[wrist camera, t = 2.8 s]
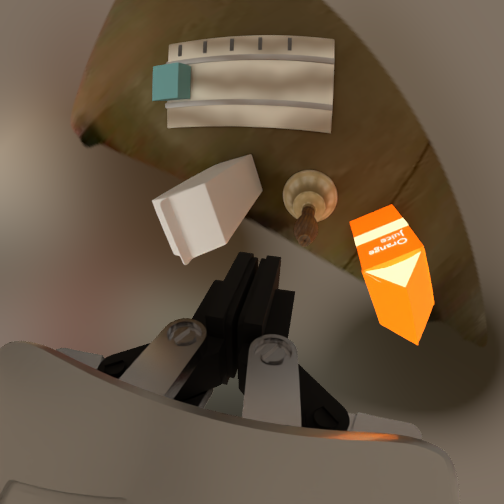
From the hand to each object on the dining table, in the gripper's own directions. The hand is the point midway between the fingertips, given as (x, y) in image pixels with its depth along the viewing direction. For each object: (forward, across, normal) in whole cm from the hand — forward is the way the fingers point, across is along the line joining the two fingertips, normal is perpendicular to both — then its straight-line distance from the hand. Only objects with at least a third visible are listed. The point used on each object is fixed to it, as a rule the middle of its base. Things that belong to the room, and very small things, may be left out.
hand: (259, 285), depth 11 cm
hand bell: (+31, -2, +5) cm, 32 cm away
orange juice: (+31, -14, +10) cm, 36 cm away
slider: (+29, +18, -12) cm, 36 cm away
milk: (+31, +9, +3) cm, 33 cm away
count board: (+31, +8, -12) cm, 34 cm away
